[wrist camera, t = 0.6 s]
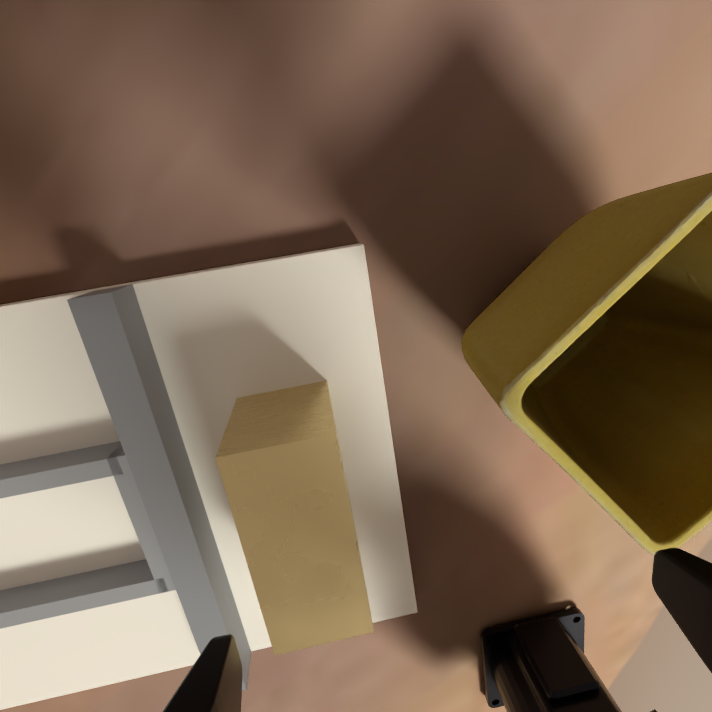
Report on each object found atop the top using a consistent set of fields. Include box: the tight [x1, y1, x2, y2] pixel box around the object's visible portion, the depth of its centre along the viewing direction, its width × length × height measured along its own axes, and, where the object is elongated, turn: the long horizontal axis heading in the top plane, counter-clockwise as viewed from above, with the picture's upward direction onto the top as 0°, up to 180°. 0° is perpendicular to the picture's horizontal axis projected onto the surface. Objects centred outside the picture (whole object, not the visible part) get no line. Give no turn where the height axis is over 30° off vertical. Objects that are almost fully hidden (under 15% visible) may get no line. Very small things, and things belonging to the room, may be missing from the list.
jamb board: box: [0, 243, 418, 710], centre depth 19 cm, size 20×23×3 cm
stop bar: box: [215, 381, 374, 655], centre depth 18 cm, size 9×4×5 cm, turn 9°
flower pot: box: [462, 173, 712, 555], centre depth 16 cm, size 9×9×9 cm
